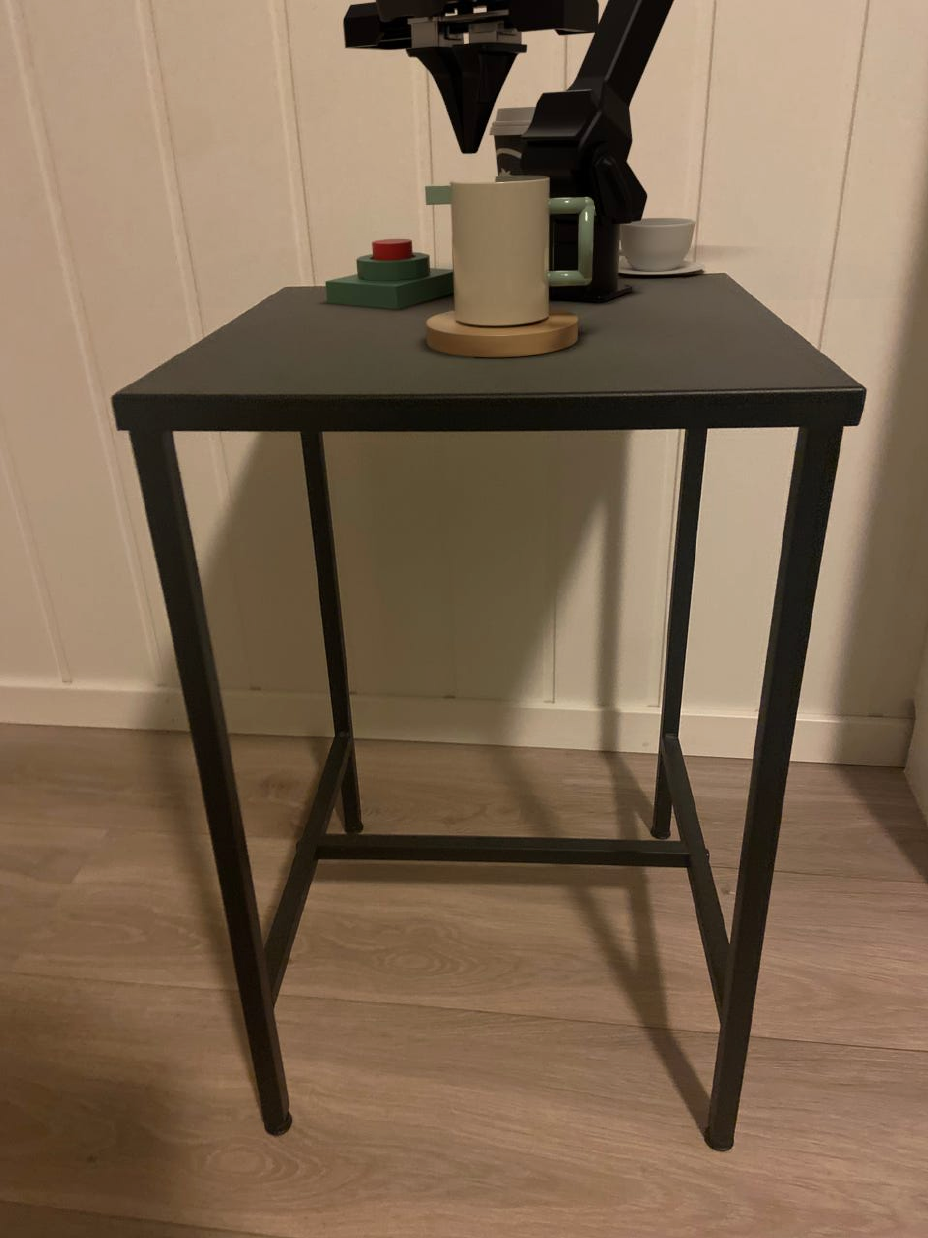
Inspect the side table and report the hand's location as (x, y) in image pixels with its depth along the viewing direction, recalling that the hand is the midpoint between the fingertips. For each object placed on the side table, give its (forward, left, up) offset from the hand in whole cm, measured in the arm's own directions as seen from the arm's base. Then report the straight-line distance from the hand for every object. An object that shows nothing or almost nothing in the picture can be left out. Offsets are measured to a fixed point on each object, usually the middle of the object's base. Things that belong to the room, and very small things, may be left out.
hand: (469, 153), depth 71 cm
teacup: (-27, +4, -12) cm, 30 cm away
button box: (-5, -12, -12) cm, 18 cm away
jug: (+7, +7, -10) cm, 14 cm away
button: (-5, -12, -9) cm, 16 cm away
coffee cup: (-18, -4, -12) cm, 22 cm away
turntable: (+7, +7, -12) cm, 16 cm away
